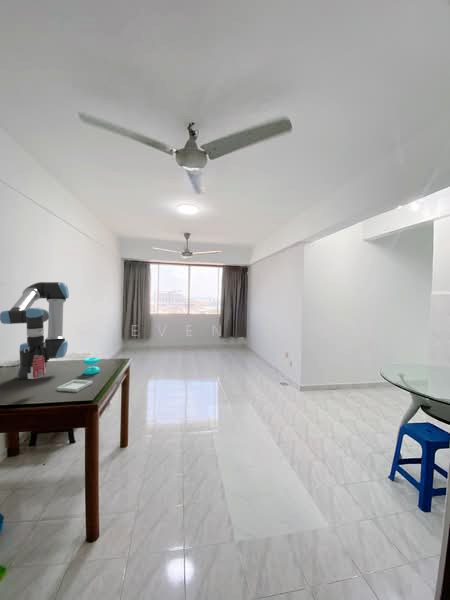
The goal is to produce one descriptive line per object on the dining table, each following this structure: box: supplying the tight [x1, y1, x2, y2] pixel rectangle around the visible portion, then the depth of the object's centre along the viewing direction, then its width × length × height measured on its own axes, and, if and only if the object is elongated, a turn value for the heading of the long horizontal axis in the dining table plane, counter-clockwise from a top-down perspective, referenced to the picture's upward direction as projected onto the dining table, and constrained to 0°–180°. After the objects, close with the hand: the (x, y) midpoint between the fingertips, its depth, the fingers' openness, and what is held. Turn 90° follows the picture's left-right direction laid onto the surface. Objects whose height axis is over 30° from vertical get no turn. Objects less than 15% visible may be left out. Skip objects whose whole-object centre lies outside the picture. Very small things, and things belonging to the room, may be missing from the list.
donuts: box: [82, 356, 101, 376], centre depth 176 cm, size 10×10×10 cm
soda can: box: [31, 355, 45, 380], centre depth 140 cm, size 7×7×12 cm
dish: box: [56, 379, 94, 393], centre depth 150 cm, size 13×13×2 cm
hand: (36, 375), depth 141 cm, fingers closed on soda can, 7 cm apart
